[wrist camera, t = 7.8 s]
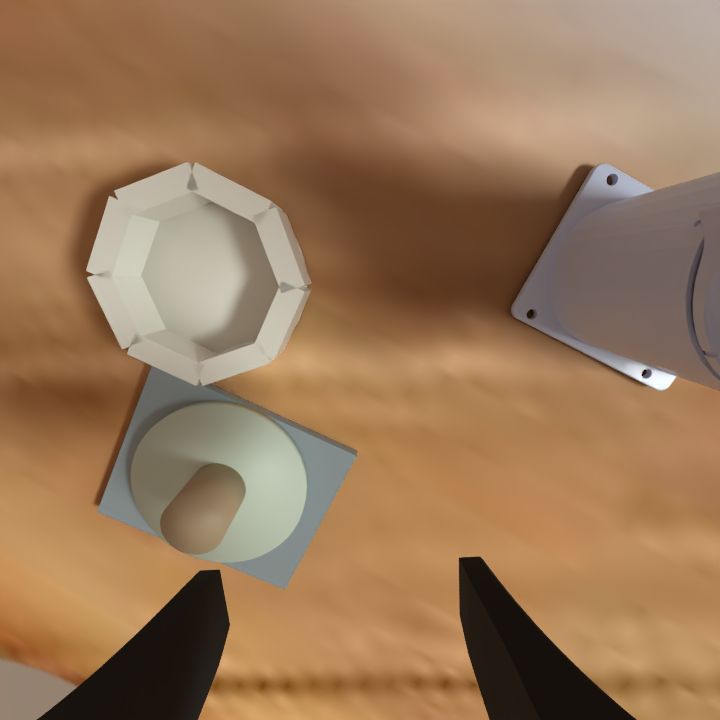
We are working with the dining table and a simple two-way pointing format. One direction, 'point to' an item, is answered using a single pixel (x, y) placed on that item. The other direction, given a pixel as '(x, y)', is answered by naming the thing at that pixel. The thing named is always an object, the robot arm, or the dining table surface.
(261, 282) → the octagonal storage bin
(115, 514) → the mat
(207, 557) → the cover
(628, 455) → the dining table surface
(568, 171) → the dining table surface
